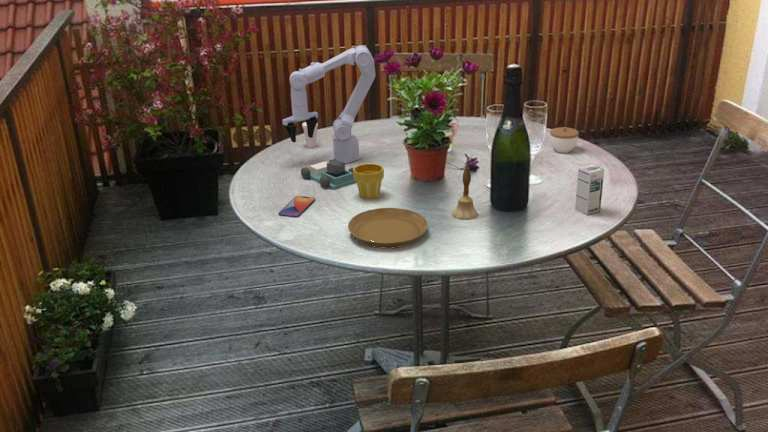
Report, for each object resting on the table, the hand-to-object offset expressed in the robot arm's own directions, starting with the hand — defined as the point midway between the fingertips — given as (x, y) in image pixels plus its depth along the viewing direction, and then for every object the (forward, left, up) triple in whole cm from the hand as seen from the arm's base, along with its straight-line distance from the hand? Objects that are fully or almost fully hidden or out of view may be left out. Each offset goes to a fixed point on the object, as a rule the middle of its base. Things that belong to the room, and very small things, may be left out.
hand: (302, 139), depth 273 cm
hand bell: (-12, +75, -10) cm, 77 cm away
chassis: (+2, +20, -9) cm, 22 cm away
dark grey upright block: (+2, +25, -8) cm, 26 cm away
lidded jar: (-83, +58, -10) cm, 102 cm away
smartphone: (+25, +34, -10) cm, 44 cm away
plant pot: (+1, +42, -10) cm, 43 cm away
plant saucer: (+15, +69, -10) cm, 71 cm away
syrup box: (-43, +99, -10) cm, 108 cm away
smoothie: (-13, -14, -10) cm, 21 cm away
